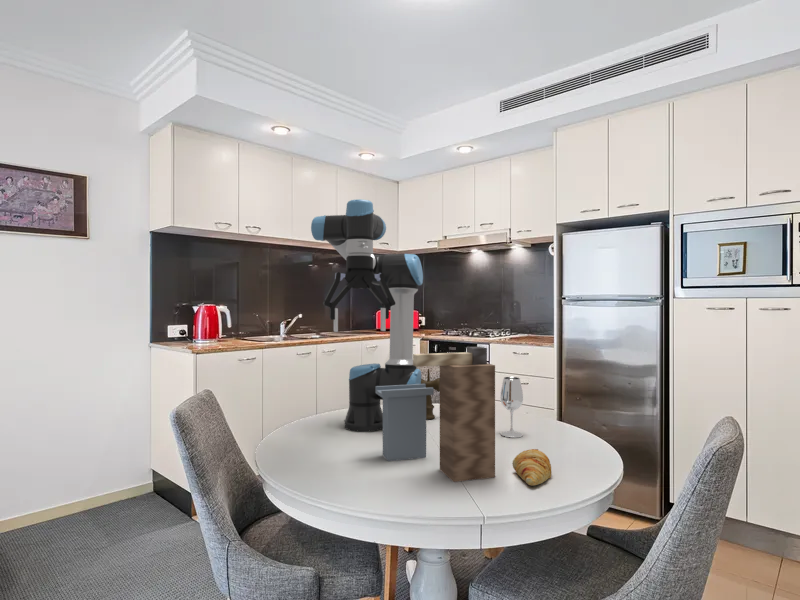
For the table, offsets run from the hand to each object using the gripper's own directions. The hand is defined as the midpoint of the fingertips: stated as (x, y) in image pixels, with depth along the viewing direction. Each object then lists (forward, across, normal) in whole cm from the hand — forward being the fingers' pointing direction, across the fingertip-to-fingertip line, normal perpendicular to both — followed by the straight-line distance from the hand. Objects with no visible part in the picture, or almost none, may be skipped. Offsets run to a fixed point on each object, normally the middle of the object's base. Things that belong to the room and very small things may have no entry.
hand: (359, 331), depth 139 cm
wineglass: (+39, +59, +18) cm, 73 cm away
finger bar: (+9, +22, -12) cm, 27 cm away
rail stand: (+39, +15, +7) cm, 42 cm away
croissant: (+39, +44, -18) cm, 61 cm away
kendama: (+39, +39, +49) cm, 74 cm away
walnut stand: (+39, +27, -12) cm, 49 cm away
